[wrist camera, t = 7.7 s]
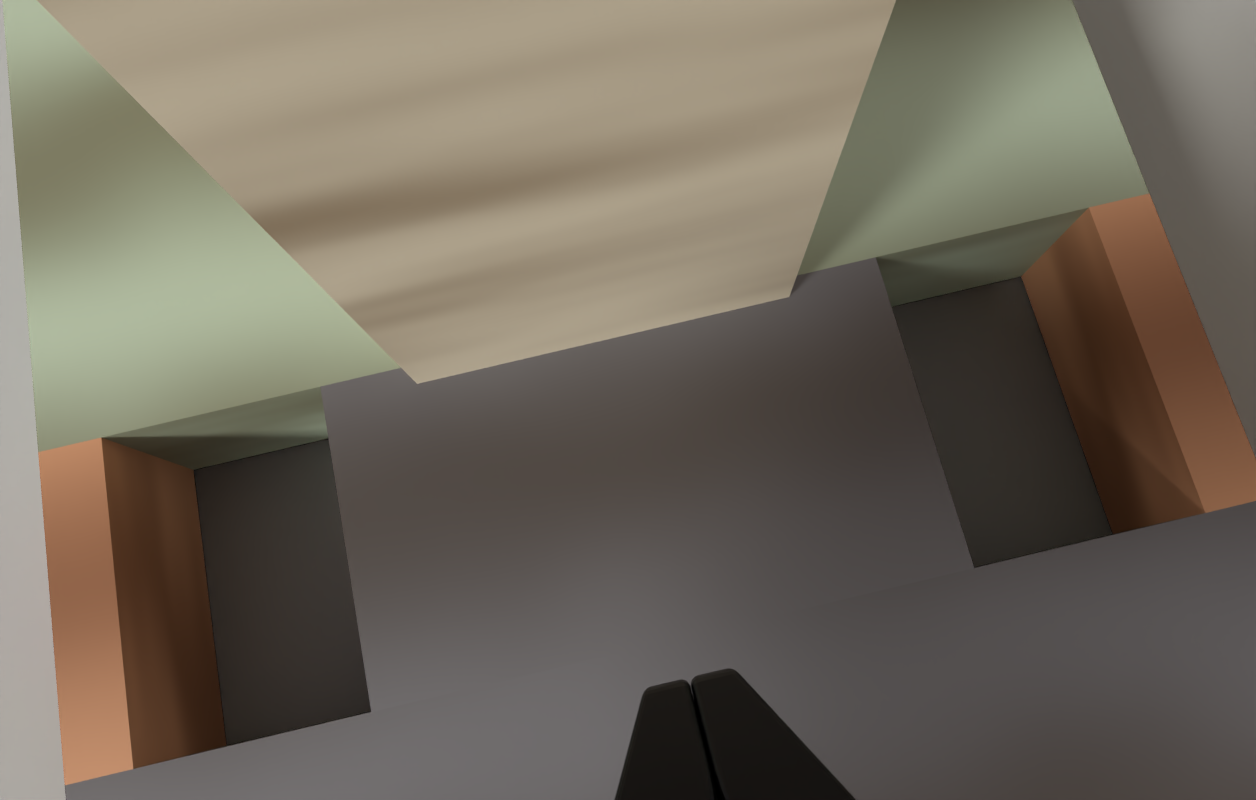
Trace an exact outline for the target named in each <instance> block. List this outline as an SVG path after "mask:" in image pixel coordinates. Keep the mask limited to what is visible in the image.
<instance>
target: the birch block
mask: <svg viewBox="0 0 1256 800" xmlns="http://www.w3.org/2000/svg"><path fill="white" fill-rule="evenodd" d="M37 1H38V2H39V3H40V4H41V5H42V6H43V7H44V8H45V9H46V10H47V11H48V12H49V13H50V14H51V15H52V16H53V17H54V18H55V19H56V20H57V21H58V22H59V23H60V24H61V25H62V26H63V27H64V28H65V29H66V30H67V31H68V32H69V33H70V34H71V35H72V36H73V37H74V38H75V39H76V40H77V41H78V42H79V43H80V44H81V45H82V46H83V47H84V49H85V50H86V51H87V52H88V53H89V54H90V55H91V56H92V57H93V58H94V59H95V60H96V61H97V62H98V63H99V64H100V65H101V66H102V67H103V68H104V69H105V70H106V71H107V72H108V73H109V74H110V75H111V76H112V77H113V78H114V79H115V80H116V81H117V82H118V83H119V84H120V85H121V86H122V87H123V88H124V89H125V90H126V91H127V92H128V93H129V94H130V95H131V96H132V97H133V98H134V99H135V100H136V101H137V102H138V103H139V104H140V105H141V106H142V107H143V108H144V109H145V110H146V111H147V112H148V113H149V114H150V115H151V116H152V117H153V118H154V119H155V120H156V121H157V122H158V123H159V124H160V125H161V126H162V127H163V128H164V129H165V130H166V131H167V132H168V133H169V134H170V135H171V136H172V137H173V138H174V139H175V140H176V141H177V142H178V143H179V144H180V145H181V146H182V147H183V148H184V149H185V150H186V151H187V152H188V153H189V154H190V155H191V156H192V157H193V158H194V159H195V160H196V161H197V162H198V163H199V164H200V165H201V166H202V167H203V168H204V169H205V170H206V172H207V173H208V174H209V175H210V176H211V177H212V178H213V179H214V180H215V181H216V182H217V183H218V184H219V185H220V186H221V187H222V188H223V189H224V190H225V191H226V192H227V193H228V194H229V195H230V196H231V197H232V198H233V199H234V200H235V201H236V202H237V203H238V204H239V205H240V206H241V207H242V208H243V209H244V210H245V211H246V212H247V213H248V214H249V215H250V216H251V217H252V218H253V219H254V220H255V221H256V222H257V223H258V224H259V225H260V226H261V227H262V228H263V229H264V230H265V231H266V232H267V233H268V234H269V235H270V236H271V237H272V238H273V239H274V240H275V241H276V242H277V243H278V244H279V245H280V246H281V247H282V248H283V249H284V250H285V251H286V252H287V253H288V254H289V255H290V256H291V257H292V258H293V259H294V260H295V261H296V262H297V263H298V264H299V265H300V266H301V267H302V268H303V269H304V270H305V271H306V272H307V273H308V274H309V275H310V276H311V277H312V278H313V279H314V280H315V281H316V282H317V283H318V284H319V285H320V286H321V287H322V288H323V289H324V290H325V291H326V292H327V293H328V295H329V296H330V297H331V298H332V299H333V300H334V301H335V302H336V303H337V304H338V305H339V306H340V307H341V308H342V309H343V310H344V311H345V312H346V313H347V314H348V315H349V316H350V317H351V318H352V319H353V320H354V321H355V322H356V323H357V324H358V325H359V326H360V327H361V328H362V329H363V330H364V331H365V332H366V333H367V334H368V335H369V336H370V337H371V338H372V339H373V340H374V341H375V342H376V343H377V344H378V345H379V346H380V347H381V348H382V349H383V350H384V351H385V352H386V353H387V354H388V355H389V356H390V357H391V358H392V359H393V360H394V361H395V362H396V363H397V364H398V365H399V366H400V367H401V368H402V369H403V370H404V371H405V372H406V373H407V374H408V375H409V376H410V377H411V378H412V379H413V380H414V381H415V382H416V383H417V384H419V383H423V382H427V381H432V380H436V379H440V378H444V377H449V376H453V375H457V374H462V373H466V372H470V371H474V370H479V369H483V368H487V367H492V366H496V365H500V364H504V363H509V362H513V361H517V360H522V359H526V358H530V357H534V356H539V355H543V354H547V353H551V352H556V351H560V350H564V349H569V348H573V347H577V346H581V345H586V344H590V343H594V342H599V341H603V340H607V339H611V338H616V337H620V336H624V335H629V334H633V333H637V332H641V331H646V330H650V329H654V328H658V327H663V326H667V325H671V324H676V323H680V322H684V321H688V320H693V319H697V318H701V317H706V316H710V315H714V314H718V313H723V312H727V311H731V310H736V309H740V308H744V307H748V306H753V305H757V304H761V303H765V302H770V301H774V300H778V299H783V298H787V297H789V296H790V294H791V291H792V288H793V285H794V283H795V280H796V277H797V274H798V271H799V269H800V266H801V263H802V260H803V258H804V255H805V252H806V249H807V246H808V244H809V241H810V238H811V235H812V233H813V230H814V227H815V224H816V221H817V219H818V216H819V213H820V210H821V208H822V205H823V202H824V199H825V196H826V194H827V191H828V188H829V185H830V183H831V180H832V177H833V174H834V171H835V169H836V166H837V163H838V160H839V158H840V155H841V152H842V149H843V146H844V144H845V141H846V138H847V135H848V133H849V130H850V127H851V124H852V121H853V119H854V116H855V113H856V110H857V108H858V105H859V102H860V99H861V96H862V94H863V91H864V88H865V85H866V83H867V80H868V77H869V74H870V71H871V69H872V66H873V63H874V60H875V58H876V55H877V52H878V49H879V46H880V44H881V41H882V38H883V35H884V33H885V30H886V27H887V24H888V21H889V19H890V16H891V13H892V10H893V8H894V5H895V2H896V0H37Z"/></svg>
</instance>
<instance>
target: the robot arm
mask: <svg viewBox="0 0 1256 800" xmlns="http://www.w3.org/2000/svg"><path fill="white" fill-rule="evenodd" d="M691 689H692V690H691ZM692 693H693V694H692ZM614 800H856V799H855V798H854V796H853V795H852V794H851V793H850V792H849V791H848V790H847V789H846V788H845V787H844V786H843V785H842V784H841V782H840V781H839V780H838V779H837V778H836V777H835V776H834V775H833V774H832V773H831V772H830V771H829V770H828V768H827V767H826V766H825V765H824V764H823V763H822V762H821V761H820V760H819V759H818V758H817V757H816V755H815V754H814V753H813V752H812V751H811V750H810V749H809V748H808V747H807V746H806V745H805V744H804V743H803V741H802V740H801V739H800V738H799V737H798V736H797V735H796V734H795V733H794V732H793V731H792V730H791V728H790V727H789V726H788V725H787V724H786V723H785V722H784V721H783V720H782V719H781V718H780V717H779V716H778V714H777V713H776V712H775V711H774V710H773V709H772V708H771V707H770V706H769V705H768V704H767V703H766V701H765V700H764V699H763V698H762V697H761V696H760V695H759V694H758V693H757V692H756V691H755V690H754V689H753V687H752V686H751V685H750V684H749V683H748V682H747V681H746V680H745V679H744V678H743V677H742V676H741V675H740V674H739V673H738V672H737V671H736V670H734V669H731V668H726V669H722V670H718V671H714V672H709V673H705V674H701V675H697V676H695V677H694V678H693V679H692V681H691V686H690V684H689V683H688V682H687V681H686V680H683V679H680V680H676V681H672V682H667V683H663V684H659V685H655V686H651V687H648V688H647V689H646V690H645V691H644V693H643V695H642V697H641V701H640V705H639V709H638V712H637V716H636V720H635V724H634V727H633V731H632V735H631V739H630V743H629V746H628V750H627V754H626V758H625V761H624V765H623V769H622V773H621V776H620V780H619V784H618V788H617V792H616V795H615V799H614Z"/></svg>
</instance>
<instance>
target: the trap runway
mask: <svg viewBox="0 0 1256 800" xmlns="http://www.w3.org/2000/svg"><path fill="white" fill-rule="evenodd" d="M2 1H3V13H4V26H5V39H6V51H7V64H8V76H9V89H10V101H11V114H12V127H13V139H14V152H15V164H16V177H17V189H18V202H19V215H20V227H21V240H22V252H23V265H24V278H25V290H26V303H27V315H28V328H29V340H30V353H31V366H32V378H33V391H34V403H35V416H36V429H37V441H38V454H39V466H40V479H41V491H42V504H43V517H44V529H45V542H46V554H47V567H48V579H49V592H50V605H51V617H52V630H53V642H54V655H55V668H56V680H57V693H58V705H59V718H60V730H61V743H62V756H63V768H64V781H65V793H66V800H614V799H615V795H616V792H617V788H618V784H619V780H620V776H621V773H622V769H623V765H624V761H625V758H626V754H627V750H628V746H629V743H630V739H631V735H632V731H633V727H634V724H635V720H636V716H637V712H638V709H639V705H640V701H641V697H642V695H643V693H644V691H645V690H646V689H647V688H648V687H651V686H655V685H659V684H663V683H667V682H672V681H676V680H680V679H683V680H686V681H687V682H688V683H689V684H690V686H691V681H692V679H693V678H694V677H695V676H697V675H701V674H705V673H709V672H714V671H718V670H722V669H726V668H731V669H734V670H736V671H737V672H738V673H739V674H740V675H741V676H742V677H743V678H744V679H745V680H746V681H747V682H748V683H749V684H750V685H751V686H752V687H753V689H754V690H755V691H756V692H757V693H758V694H759V695H760V696H761V697H762V698H763V699H764V700H765V701H766V703H767V704H768V705H769V706H770V707H771V708H772V709H773V710H774V711H775V712H776V713H777V714H778V716H779V717H780V718H781V719H782V720H783V721H784V722H785V723H786V724H787V725H788V726H789V727H790V728H791V730H792V731H793V732H794V733H795V734H796V735H797V736H798V737H799V738H800V739H801V740H802V741H803V743H804V744H805V745H806V746H807V747H808V748H809V749H810V750H811V751H812V752H813V753H814V754H815V755H816V757H817V758H818V759H819V760H820V761H821V762H822V763H823V764H824V765H825V766H826V767H827V768H828V770H829V771H830V772H831V773H832V774H833V775H834V776H835V777H836V778H837V779H838V780H839V781H840V782H841V784H842V785H843V786H844V787H845V788H846V789H847V790H848V791H849V792H850V793H851V794H852V795H853V796H854V798H855V799H856V800H1256V458H1255V456H1254V453H1253V451H1252V448H1251V446H1250V443H1249V441H1248V438H1247V436H1246V433H1245V431H1244V428H1243V426H1242V423H1241V421H1240V418H1239V416H1238V413H1237V411H1236V408H1235V406H1234V403H1233V401H1232V398H1231V396H1230V393H1229V391H1228V388H1227V386H1226V383H1225V381H1224V378H1223V376H1222V373H1221V371H1220V368H1219V366H1218V363H1217V361H1216V358H1215V356H1214V353H1213V351H1212V348H1211V346H1210V343H1209V341H1208V338H1207V336H1206V333H1205V331H1204V328H1203V326H1202V323H1201V321H1200V318H1199V316H1198V313H1197V311H1196V308H1195V306H1194V303H1193V301H1192V298H1191V296H1190V293H1189V291H1188V288H1187V286H1186V283H1185V281H1184V278H1183V276H1182V273H1181V271H1180V268H1179V266H1178V263H1177V261H1176V258H1175V256H1174V254H1173V251H1172V249H1171V246H1170V244H1169V241H1168V239H1167V236H1166V234H1165V231H1164V229H1163V226H1162V224H1161V221H1160V219H1159V216H1158V214H1157V211H1156V209H1155V206H1154V204H1153V201H1152V199H1151V196H1150V194H1149V191H1148V189H1147V186H1146V184H1145V181H1144V179H1143V176H1142V174H1141V171H1140V169H1139V166H1138V164H1137V161H1136V159H1135V156H1134V154H1133V151H1132V149H1131V146H1130V144H1129V141H1128V139H1127V136H1126V134H1125V131H1124V129H1123V126H1122V124H1121V121H1120V119H1119V116H1118V114H1117V111H1116V109H1115V106H1114V104H1113V101H1112V99H1111V96H1110V94H1109V91H1108V89H1107V86H1106V84H1105V81H1104V79H1103V76H1102V74H1101V71H1100V69H1099V66H1098V64H1097V61H1096V59H1095V56H1094V54H1093V51H1092V49H1091V46H1090V44H1089V41H1088V39H1087V36H1086V34H1085V31H1084V29H1083V26H1082V24H1081V21H1080V19H1079V16H1078V14H1077V11H1076V9H1075V6H1074V4H1073V1H1072V0H896V2H895V5H894V8H893V10H892V13H891V16H890V19H889V21H888V24H887V27H886V30H885V33H884V35H883V38H882V41H881V44H880V46H879V49H878V52H877V55H876V58H875V60H874V63H873V66H872V69H871V71H870V74H869V77H868V80H867V83H866V85H865V88H864V91H863V94H862V96H861V99H860V102H859V105H858V108H857V110H856V113H855V116H854V119H853V121H852V124H851V127H850V130H849V133H848V135H847V138H846V141H845V144H844V146H843V149H842V152H841V155H840V158H839V160H838V163H837V166H836V169H835V171H834V174H833V177H832V180H831V183H830V185H829V188H828V191H827V194H826V196H825V199H824V202H823V205H822V208H821V210H820V213H819V216H818V219H817V221H816V224H815V227H814V230H813V233H812V235H811V238H810V241H809V244H808V246H807V249H806V252H805V255H804V258H803V260H802V263H801V266H800V269H799V271H798V274H797V277H796V280H795V283H794V285H793V288H792V291H791V294H790V296H789V297H787V298H783V299H778V300H774V301H770V302H765V303H761V304H757V305H753V306H748V307H744V308H740V309H736V310H731V311H727V312H723V313H718V314H714V315H710V316H706V317H701V318H697V319H693V320H688V321H684V322H680V323H676V324H671V325H667V326H663V327H658V328H654V329H650V330H646V331H641V332H637V333H633V334H629V335H624V336H620V337H616V338H611V339H607V340H603V341H599V342H594V343H590V344H586V345H581V346H577V347H573V348H569V349H564V350H560V351H556V352H551V353H547V354H543V355H539V356H534V357H530V358H526V359H522V360H517V361H513V362H509V363H504V364H500V365H496V366H492V367H487V368H483V369H479V370H474V371H470V372H466V373H462V374H457V375H453V376H449V377H444V378H440V379H436V380H432V381H427V382H423V383H419V384H417V383H416V382H415V381H414V380H413V379H412V378H411V377H410V376H409V375H408V374H407V373H406V372H405V371H404V370H403V369H402V368H401V367H400V366H399V365H398V364H397V363H396V362H395V361H394V360H393V359H392V358H391V357H390V356H389V355H388V354H387V353H386V352H385V351H384V350H383V349H382V348H381V347H380V346H379V345H378V344H377V343H376V342H375V341H374V340H373V339H372V338H371V337H370V336H369V335H368V334H367V333H366V332H365V331H364V330H363V329H362V328H361V327H360V326H359V325H358V324H357V323H356V322H355V321H354V320H353V319H352V318H351V317H350V316H349V315H348V314H347V313H346V312H345V311H344V310H343V309H342V308H341V307H340V306H339V305H338V304H337V303H336V302H335V301H334V300H333V299H332V298H331V297H330V296H329V295H328V293H327V292H326V291H325V290H324V289H323V288H322V287H321V286H320V285H319V284H318V283H317V282H316V281H315V280H314V279H313V278H312V277H311V276H310V275H309V274H308V273H307V272H306V271H305V270H304V269H303V268H302V267H301V266H300V265H299V264H298V263H297V262H296V261H295V260H294V259H293V258H292V257H291V256H290V255H289V254H288V253H287V252H286V251H285V250H284V249H283V248H282V247H281V246H280V245H279V244H278V243H277V242H276V241H275V240H274V239H273V238H272V237H271V236H270V235H269V234H268V233H267V232H266V231H265V230H264V229H263V228H262V227H261V226H260V225H259V224H258V223H257V222H256V221H255V220H254V219H253V218H252V217H251V216H250V215H249V214H248V213H247V212H246V211H245V210H244V209H243V208H242V207H241V206H240V205H239V204H238V203H237V202H236V201H235V200H234V199H233V198H232V197H231V196H230V195H229V194H228V193H227V192H226V191H225V190H224V189H223V188H222V187H221V186H220V185H219V184H218V183H217V182H216V181H215V180H214V179H213V178H212V177H211V176H210V175H209V174H208V173H207V172H206V170H205V169H204V168H203V167H202V166H201V165H200V164H199V163H198V162H197V161H196V160H195V159H194V158H193V157H192V156H191V155H190V154H189V153H188V152H187V151H186V150H185V149H184V148H183V147H182V146H181V145H180V144H179V143H178V142H177V141H176V140H175V139H174V138H173V137H172V136H171V135H170V134H169V133H168V132H167V131H166V130H165V129H164V128H163V127H162V126H161V125H160V124H159V123H158V122H157V121H156V120H155V119H154V118H153V117H152V116H151V115H150V114H149V113H148V112H147V111H146V110H145V109H144V108H143V107H142V106H141V105H140V104H139V103H138V102H137V101H136V100H135V99H134V98H133V97H132V96H131V95H130V94H129V93H128V92H127V91H126V90H125V89H124V88H123V87H122V86H121V85H120V84H119V83H118V82H117V81H116V80H115V79H114V78H113V77H112V76H111V75H110V74H109V73H108V72H107V71H106V70H105V69H104V68H103V67H102V66H101V65H100V64H99V63H98V62H97V61H96V60H95V59H94V58H93V57H92V56H91V55H90V54H89V53H88V52H87V51H86V50H85V49H84V47H83V46H82V45H81V44H80V43H79V42H78V41H77V40H76V39H75V38H74V37H73V36H72V35H71V34H70V33H69V32H68V31H67V30H66V29H65V28H64V27H63V26H62V25H61V24H60V23H59V22H58V21H57V20H56V19H55V18H54V17H53V16H52V15H51V14H50V13H49V12H48V11H47V10H46V9H45V8H44V7H43V6H42V5H41V4H40V3H39V2H38V1H37V0H2ZM1020 276H1021V277H1022V280H1023V283H1024V286H1025V288H1026V291H1027V294H1028V297H1029V300H1030V302H1031V305H1032V308H1033V311H1034V314H1035V317H1036V319H1037V322H1038V325H1039V328H1040V331H1041V333H1042V336H1043V339H1044V342H1045V345H1046V347H1047V350H1048V353H1049V356H1050V359H1051V361H1052V364H1053V367H1054V370H1055V373H1056V376H1057V378H1058V381H1059V384H1060V387H1061V390H1062V392H1063V395H1064V398H1065V401H1066V404H1067V406H1068V409H1069V412H1070V415H1071V418H1072V420H1073V423H1074V426H1075V429H1076V432H1077V435H1078V437H1079V440H1080V443H1081V446H1082V449H1083V451H1084V454H1085V457H1086V460H1087V463H1088V465H1089V468H1090V471H1091V474H1092V477H1093V479H1094V482H1095V485H1096V488H1097V491H1098V494H1099V496H1100V499H1101V502H1102V505H1103V508H1104V510H1105V513H1106V516H1107V519H1108V522H1109V524H1110V527H1111V530H1112V533H1113V534H1111V535H1107V536H1103V537H1099V538H1095V539H1090V540H1086V541H1082V542H1078V543H1074V544H1069V545H1065V546H1061V547H1057V548H1053V549H1048V550H1044V551H1040V552H1036V553H1032V554H1027V555H1023V556H1019V557H1015V558H1011V559H1007V560H1002V561H998V562H994V563H990V564H986V565H981V566H977V567H974V565H973V562H972V559H971V556H970V553H969V550H968V546H967V543H966V540H965V537H964V534H963V531H962V528H961V524H960V521H959V518H958V515H957V512H956V509H955V505H954V502H953V499H952V496H951V493H950V490H949V487H948V483H947V480H946V477H945V474H944V471H943V468H942V465H941V461H940V458H939V455H938V452H937V449H936V446H935V442H934V439H933V436H932V433H931V430H930V427H929V424H928V420H927V417H926V414H925V411H924V408H923V405H922V401H921V398H920V395H919V392H918V389H917V386H916V383H915V379H914V376H913V373H912V370H911V367H910V364H909V361H908V357H907V354H906V351H905V348H904V345H903V342H902V338H901V335H900V332H899V329H898V326H897V323H896V320H895V316H894V313H893V310H892V306H896V305H900V304H905V303H909V302H913V301H918V300H922V299H926V298H930V297H935V296H939V295H943V294H948V293H952V292H956V291H960V290H965V289H969V288H973V287H977V286H982V285H986V284H990V283H995V282H999V281H1003V280H1007V279H1012V278H1016V277H1020ZM327 438H328V439H329V446H330V452H331V458H332V465H333V471H334V478H335V484H336V490H337V497H338V503H339V509H340V516H341V522H342V529H343V535H344V541H345V548H346V554H347V561H348V567H349V573H350V580H351V586H352V592H353V599H354V605H355V612H356V618H357V624H358V631H359V637H360V643H361V650H362V656H363V663H364V669H365V675H366V682H367V688H368V694H369V701H370V707H371V711H370V712H366V713H362V714H357V715H353V716H349V717H345V718H341V719H337V720H332V721H328V722H324V723H320V724H316V725H311V726H307V727H303V728H299V729H295V730H290V731H286V732H282V733H278V734H274V735H269V736H265V737H261V738H257V739H253V740H249V741H244V742H240V743H236V744H232V745H228V746H226V737H225V729H224V721H223V712H222V704H221V696H220V687H219V679H218V671H217V662H216V654H215V646H214V637H213V629H212V621H211V612H210V604H209V596H208V587H207V579H206V571H205V562H204V554H203V546H202V537H201V529H200V521H199V512H198V504H197V496H196V487H195V479H194V471H193V470H195V469H199V468H203V467H208V466H212V465H216V464H220V463H225V462H229V461H233V460H238V459H242V458H246V457H250V456H255V455H259V454H263V453H268V452H272V451H276V450H280V449H285V448H289V447H293V446H297V445H302V444H306V443H310V442H315V441H319V440H323V439H327ZM691 690H692V689H691ZM692 694H693V693H692Z"/></svg>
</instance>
